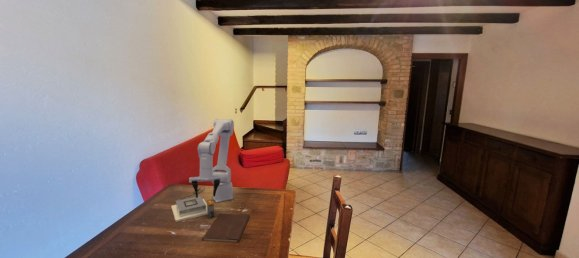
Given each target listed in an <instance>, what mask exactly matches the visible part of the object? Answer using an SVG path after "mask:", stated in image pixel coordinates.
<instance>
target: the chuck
mask: <svg viewBox="0 0 579 258" xmlns="http://www.w3.org/2000/svg"><path fill="white" fill-rule="evenodd" d="M203 199H204V198H203V197H202V196H201V195H198V198H196V197H195V196H194V197H188V198H182V199H180V200H178V199H177V200H178V201H177V200H175V205H176V208H177V211H178V213H179V216H180V217H182V216H187V215H191V214H195V213H199V212H203V211H206V204H205V203H204V201H203Z"/></svg>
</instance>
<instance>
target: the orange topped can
mask: <svg viewBox="0 0 579 258" xmlns="http://www.w3.org/2000/svg"><path fill="white" fill-rule="evenodd" d="M214 202H215V200H214V199H208V200H206V203H207V218H208V219H213V218H215V205H214V204H215V203H214Z"/></svg>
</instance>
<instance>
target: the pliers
mask: <svg viewBox="0 0 579 258" xmlns="http://www.w3.org/2000/svg"><path fill="white" fill-rule="evenodd" d="M205 190H206V188H205V187H204V188H202V189H201V187H198V195H199V194H201V193H202V192H204V191H205ZM193 195H194V197H196V193H195V191H193V192H192V193H190V194H187V195H184V196H182V197H180V198H178V199H177V200H176V201H178V200H183V199H186V198H187V197H188V198H189V197H190V196H193Z"/></svg>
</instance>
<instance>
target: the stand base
mask: <svg viewBox="0 0 579 258" xmlns="http://www.w3.org/2000/svg"><path fill="white" fill-rule="evenodd" d="M202 199H203V201H204V203H205V204H206V211H203V212H199V213H195V214H191V215H187V216H182V217H180V216H179V213H178V211H177V208H176V204H173V205H171V210H172V214H173V215H172V216H173V218H174V221H175V223H178V222H182V221H186V220H189V219H190V220H191V219H195V218H199V217H202V216H206V215H207V216H208V214H207V201H205V199H204V198H202Z"/></svg>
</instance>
